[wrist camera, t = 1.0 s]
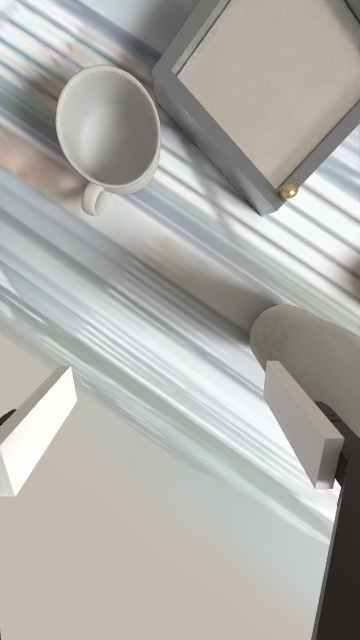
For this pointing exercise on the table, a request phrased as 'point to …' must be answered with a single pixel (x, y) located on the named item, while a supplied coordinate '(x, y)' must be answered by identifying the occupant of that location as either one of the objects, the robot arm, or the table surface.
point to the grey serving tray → (264, 89)
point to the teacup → (108, 133)
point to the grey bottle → (312, 357)
